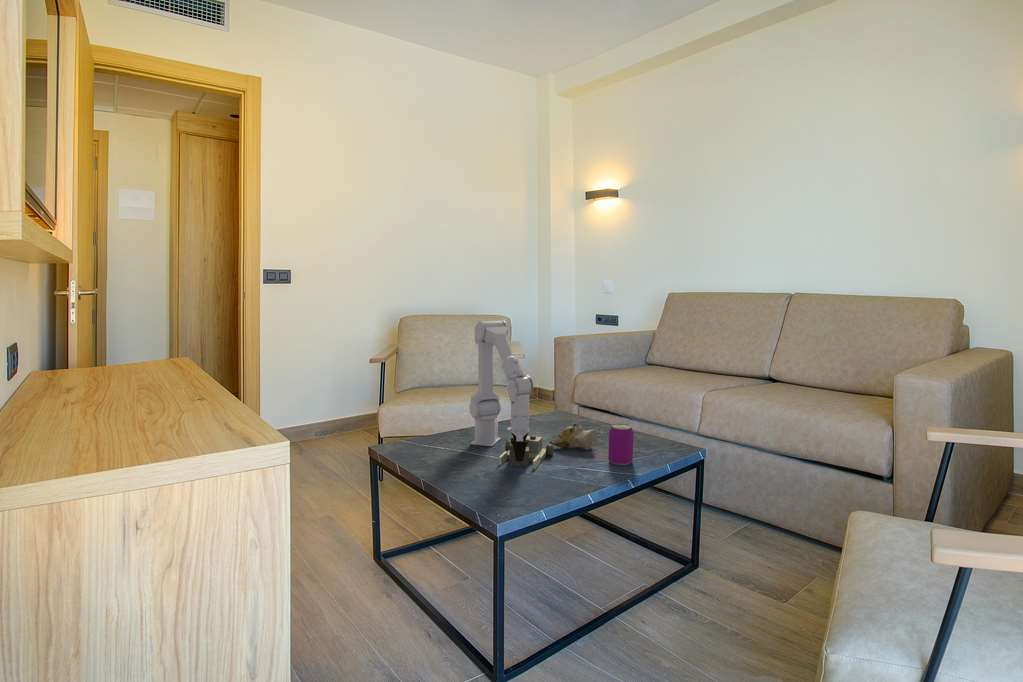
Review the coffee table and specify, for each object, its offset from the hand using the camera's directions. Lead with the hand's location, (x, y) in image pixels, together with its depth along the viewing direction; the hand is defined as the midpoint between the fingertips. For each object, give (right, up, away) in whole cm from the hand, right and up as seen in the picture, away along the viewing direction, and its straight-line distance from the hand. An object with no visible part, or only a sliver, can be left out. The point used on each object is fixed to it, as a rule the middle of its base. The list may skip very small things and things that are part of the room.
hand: (519, 456), depth 180 cm
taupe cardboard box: (0, -2, 0) cm, 2 cm away
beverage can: (+32, -2, +3) cm, 32 cm away
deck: (+1, -2, +5) cm, 6 cm away
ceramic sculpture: (+19, -1, +17) cm, 26 cm away
